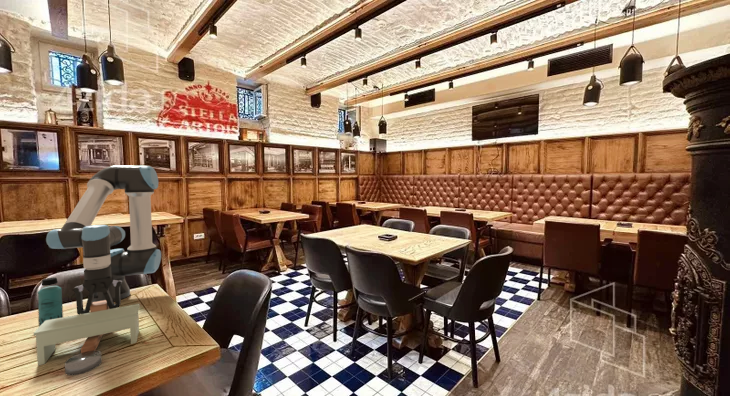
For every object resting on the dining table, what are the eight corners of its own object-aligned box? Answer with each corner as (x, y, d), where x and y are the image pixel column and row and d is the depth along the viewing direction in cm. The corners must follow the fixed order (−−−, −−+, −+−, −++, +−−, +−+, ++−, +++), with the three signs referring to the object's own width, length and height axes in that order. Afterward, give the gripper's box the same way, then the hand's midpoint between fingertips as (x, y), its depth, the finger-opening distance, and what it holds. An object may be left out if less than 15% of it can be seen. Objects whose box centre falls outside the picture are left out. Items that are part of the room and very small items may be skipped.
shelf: (47, 350, 99) (45, 320, 99) (140, 330, 113) (139, 303, 112) (35, 366, 91) (33, 333, 90) (138, 342, 104) (136, 313, 104)
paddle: (94, 328, 112) (92, 302, 112) (109, 325, 114) (108, 299, 114) (78, 357, 93) (76, 326, 93) (97, 352, 96) (95, 322, 95)
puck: (69, 364, 91) (69, 355, 91) (104, 356, 96) (103, 347, 96) (61, 379, 85) (60, 369, 85) (98, 370, 89) (98, 360, 89)
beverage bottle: (39, 330, 113) (36, 278, 112) (63, 324, 118) (61, 274, 117) (38, 336, 108) (35, 282, 108) (64, 329, 113) (61, 278, 112)
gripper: (61, 273, 102) (65, 339, 103) (126, 265, 112) (129, 326, 113) (67, 268, 108) (71, 330, 110) (129, 261, 118) (131, 318, 119)
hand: (100, 328), depth 111 cm, fingers closed on paddle, 4 cm apart
